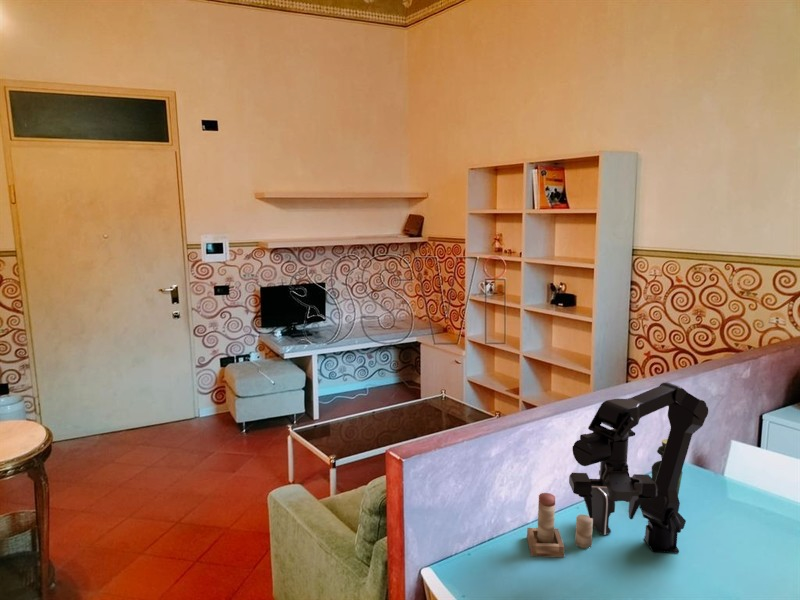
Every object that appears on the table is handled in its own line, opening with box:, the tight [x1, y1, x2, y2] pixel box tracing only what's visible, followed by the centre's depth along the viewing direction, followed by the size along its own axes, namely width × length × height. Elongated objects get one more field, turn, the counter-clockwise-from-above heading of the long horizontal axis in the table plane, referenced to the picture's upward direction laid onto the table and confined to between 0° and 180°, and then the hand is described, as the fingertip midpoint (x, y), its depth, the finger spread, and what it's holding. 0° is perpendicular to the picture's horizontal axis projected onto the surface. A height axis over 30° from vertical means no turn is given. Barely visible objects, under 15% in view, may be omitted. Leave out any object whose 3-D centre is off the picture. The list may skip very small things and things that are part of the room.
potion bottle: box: [651, 438, 683, 496], centre depth 169 cm, size 8×8×18 cm
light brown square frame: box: [526, 527, 565, 558], centre depth 148 cm, size 8×8×3 cm
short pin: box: [574, 514, 594, 549], centre depth 149 cm, size 4×4×7 cm
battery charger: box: [591, 488, 616, 536], centre depth 155 cm, size 7×4×11 cm, turn 12°
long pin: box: [537, 492, 556, 544], centre depth 147 cm, size 4×4×13 cm
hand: (610, 517), depth 137 cm, fingers open, 9 cm apart
